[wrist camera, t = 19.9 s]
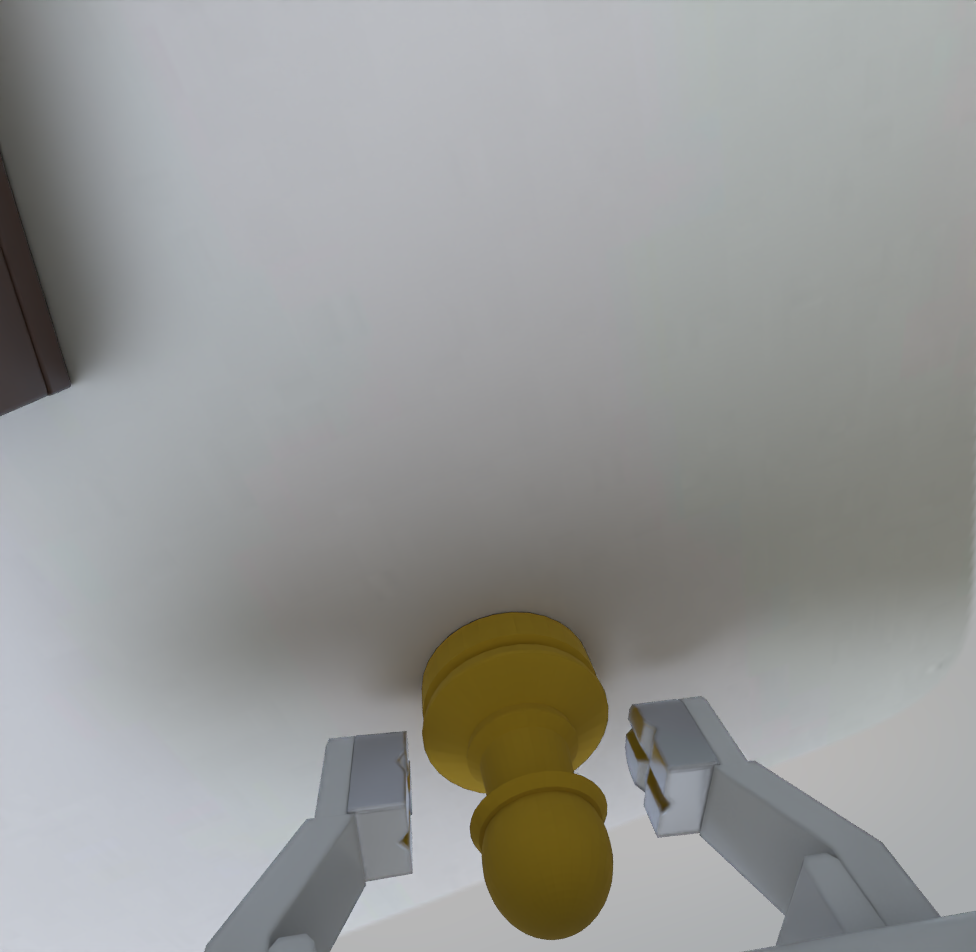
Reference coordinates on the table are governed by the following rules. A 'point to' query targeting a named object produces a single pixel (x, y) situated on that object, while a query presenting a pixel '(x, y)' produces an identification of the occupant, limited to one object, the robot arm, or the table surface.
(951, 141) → the table surface
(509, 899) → the chess piece
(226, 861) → the table surface
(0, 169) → the chess bin
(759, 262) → the table surface
